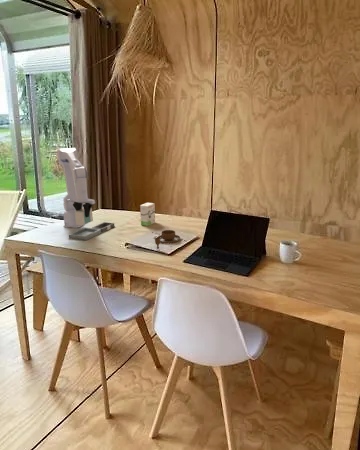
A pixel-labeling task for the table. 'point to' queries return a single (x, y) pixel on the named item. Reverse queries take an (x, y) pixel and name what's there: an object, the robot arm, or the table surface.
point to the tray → (85, 233)
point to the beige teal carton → (83, 217)
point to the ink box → (147, 214)
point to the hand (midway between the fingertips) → (83, 216)
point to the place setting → (167, 237)
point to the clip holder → (108, 226)
